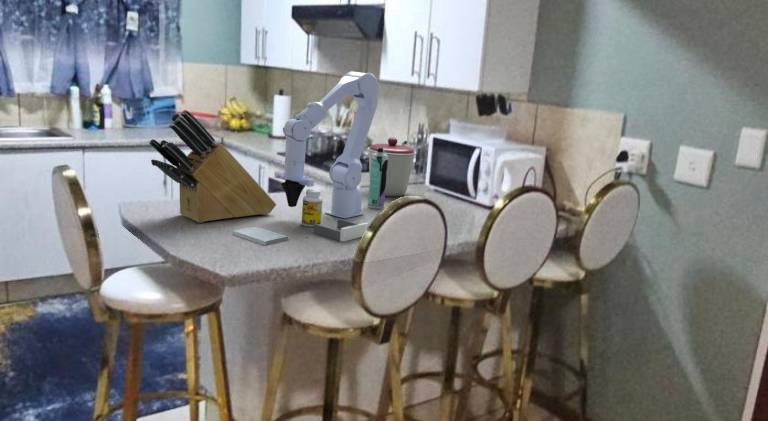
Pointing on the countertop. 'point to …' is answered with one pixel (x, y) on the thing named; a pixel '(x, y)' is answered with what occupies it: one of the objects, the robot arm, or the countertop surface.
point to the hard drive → (260, 235)
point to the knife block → (209, 175)
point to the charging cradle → (342, 230)
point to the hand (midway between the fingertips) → (292, 206)
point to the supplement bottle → (311, 208)
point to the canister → (395, 166)
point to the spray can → (378, 179)
